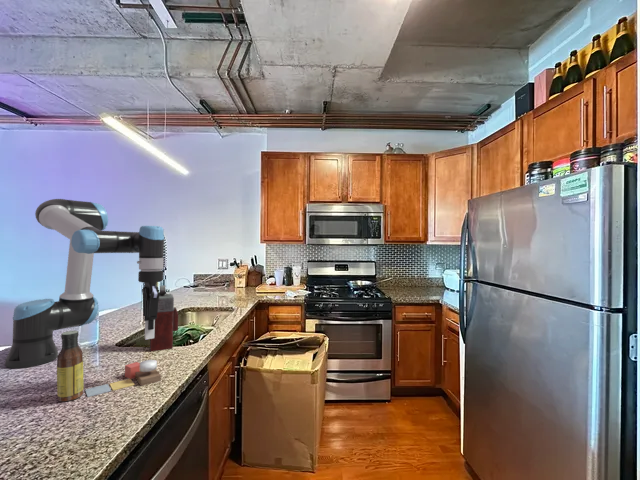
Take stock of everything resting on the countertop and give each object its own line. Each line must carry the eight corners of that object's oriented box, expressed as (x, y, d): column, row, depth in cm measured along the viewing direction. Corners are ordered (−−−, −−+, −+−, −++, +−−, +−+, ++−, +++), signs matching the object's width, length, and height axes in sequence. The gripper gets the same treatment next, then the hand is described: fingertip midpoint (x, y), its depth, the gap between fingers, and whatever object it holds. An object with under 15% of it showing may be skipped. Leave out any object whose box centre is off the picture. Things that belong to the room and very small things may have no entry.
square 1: (85, 390, 98) (85, 389, 98) (107, 384, 102) (107, 384, 102) (87, 397, 94) (87, 396, 94) (111, 391, 98) (111, 390, 98)
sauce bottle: (80, 390, 98) (82, 327, 98) (86, 397, 94) (88, 331, 94) (53, 398, 93) (55, 332, 93) (58, 405, 89) (60, 336, 89)
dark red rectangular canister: (178, 347, 140) (179, 285, 140) (149, 351, 134) (151, 287, 135) (176, 342, 148) (178, 283, 148) (149, 345, 142) (151, 284, 143)
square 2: (109, 384, 103) (109, 383, 103) (130, 379, 107) (130, 378, 107) (112, 390, 98) (112, 390, 98) (134, 385, 102) (134, 384, 102)
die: (124, 376, 109) (125, 365, 109) (136, 372, 112) (136, 361, 113) (130, 379, 107) (130, 367, 107) (142, 375, 110) (142, 364, 110)
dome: (137, 368, 107) (138, 362, 107) (154, 364, 111) (154, 358, 111) (141, 373, 103) (141, 366, 103) (158, 369, 107) (158, 362, 107)
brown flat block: (135, 378, 108) (135, 372, 108) (154, 373, 112) (154, 367, 112) (141, 386, 102) (141, 379, 102) (160, 380, 106) (160, 375, 106)
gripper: (134, 269, 110) (132, 336, 109) (143, 271, 100) (142, 345, 100) (157, 268, 115) (155, 332, 114) (168, 270, 105) (167, 340, 105)
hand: (149, 338), depth 107 cm, fingers closed
